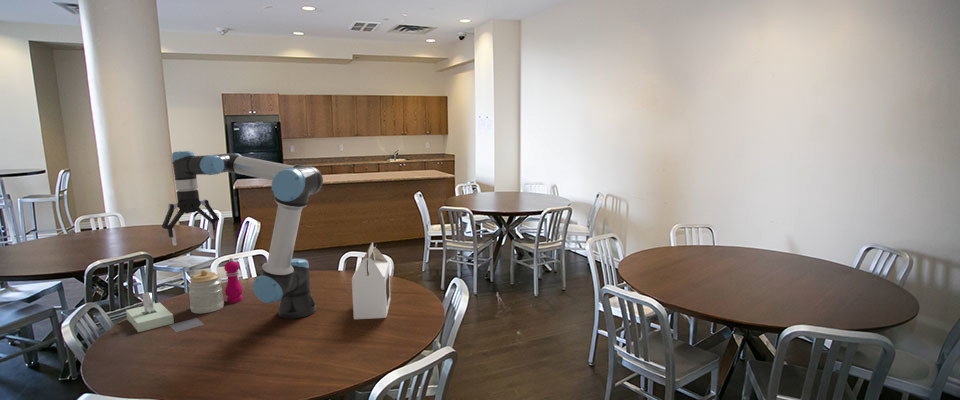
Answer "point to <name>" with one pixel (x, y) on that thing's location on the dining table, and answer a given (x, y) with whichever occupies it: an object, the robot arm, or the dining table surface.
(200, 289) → the jar
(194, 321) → the mat
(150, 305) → the pin
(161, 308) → the socket block
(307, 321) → the dining table surface
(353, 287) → the gable box
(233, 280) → the pepper mill
